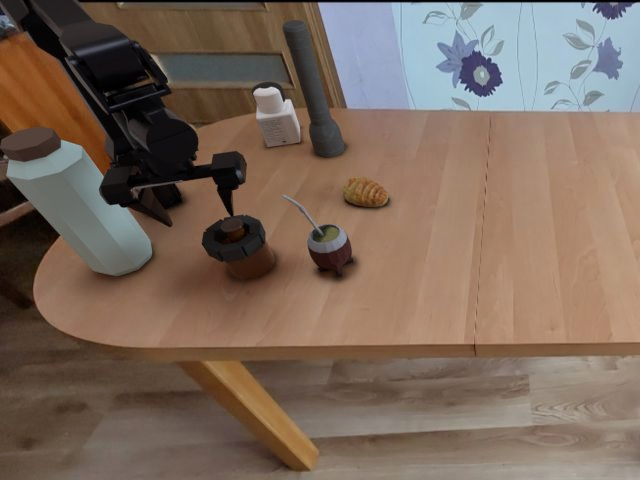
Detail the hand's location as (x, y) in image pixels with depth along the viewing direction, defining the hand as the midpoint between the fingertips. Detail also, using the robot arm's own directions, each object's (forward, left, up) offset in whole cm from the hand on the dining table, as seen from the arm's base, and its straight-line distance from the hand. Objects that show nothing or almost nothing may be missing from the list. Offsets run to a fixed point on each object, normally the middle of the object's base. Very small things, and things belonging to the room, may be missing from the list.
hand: (202, 220), depth 76 cm
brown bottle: (+3, -1, -12) cm, 12 cm away
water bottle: (-14, +15, -12) cm, 23 cm away
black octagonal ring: (+3, -1, -6) cm, 7 cm away
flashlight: (+32, +25, -12) cm, 42 cm away
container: (+26, +37, -12) cm, 47 cm away
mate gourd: (+14, -11, -12) cm, 22 cm away
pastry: (+29, +3, -12) cm, 32 cm away
